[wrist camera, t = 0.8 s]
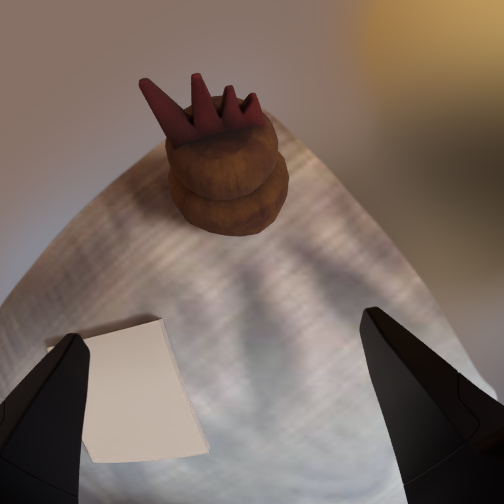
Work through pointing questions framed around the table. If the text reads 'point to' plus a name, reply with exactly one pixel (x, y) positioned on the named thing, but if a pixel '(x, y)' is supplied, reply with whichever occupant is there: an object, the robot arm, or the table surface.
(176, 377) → the display tile
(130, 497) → the table surface
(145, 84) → the wooden figurine
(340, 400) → the table surface
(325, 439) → the table surface
